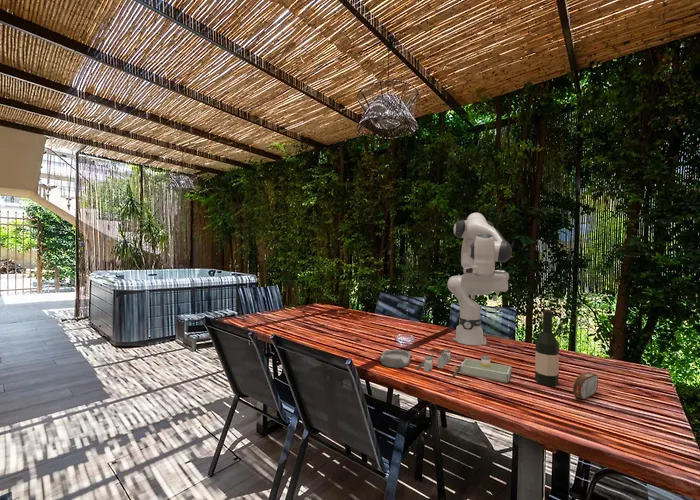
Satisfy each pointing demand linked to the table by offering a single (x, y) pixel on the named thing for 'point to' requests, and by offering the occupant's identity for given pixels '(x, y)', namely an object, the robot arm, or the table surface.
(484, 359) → the cylinder
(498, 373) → the tray
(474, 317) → the robot arm
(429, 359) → the fuse cartridge near camera
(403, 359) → the dish
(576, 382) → the tin
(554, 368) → the wine bottle
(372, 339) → the table surface
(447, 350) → the fuse cartridge near arm
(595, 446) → the table surface
